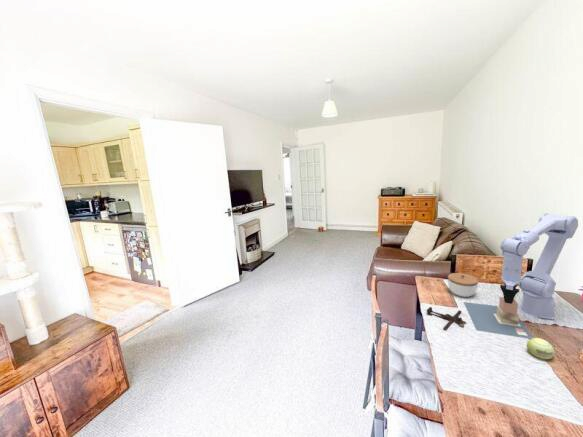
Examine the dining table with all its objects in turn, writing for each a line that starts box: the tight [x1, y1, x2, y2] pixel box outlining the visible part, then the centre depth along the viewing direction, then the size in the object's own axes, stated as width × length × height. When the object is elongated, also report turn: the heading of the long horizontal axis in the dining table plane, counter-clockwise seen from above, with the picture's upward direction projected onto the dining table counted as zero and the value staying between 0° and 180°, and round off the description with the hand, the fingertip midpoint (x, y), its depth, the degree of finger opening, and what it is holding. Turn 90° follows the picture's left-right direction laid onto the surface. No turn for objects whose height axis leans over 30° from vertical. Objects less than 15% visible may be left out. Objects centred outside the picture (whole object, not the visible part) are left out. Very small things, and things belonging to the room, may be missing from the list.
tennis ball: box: [526, 337, 555, 360], centre depth 83 cm, size 6×7×7 cm
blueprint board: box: [463, 301, 535, 340], centre depth 104 cm, size 18×22×1 cm
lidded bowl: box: [447, 272, 479, 298], centre depth 124 cm, size 13×13×11 cm
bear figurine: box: [426, 306, 467, 331], centre depth 106 cm, size 18×4×14 cm
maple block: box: [496, 305, 520, 325], centre depth 101 cm, size 6×6×4 cm
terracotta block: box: [498, 296, 519, 314], centre depth 100 cm, size 4×4×4 cm
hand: (508, 298), depth 100 cm, fingers open, 7 cm apart
